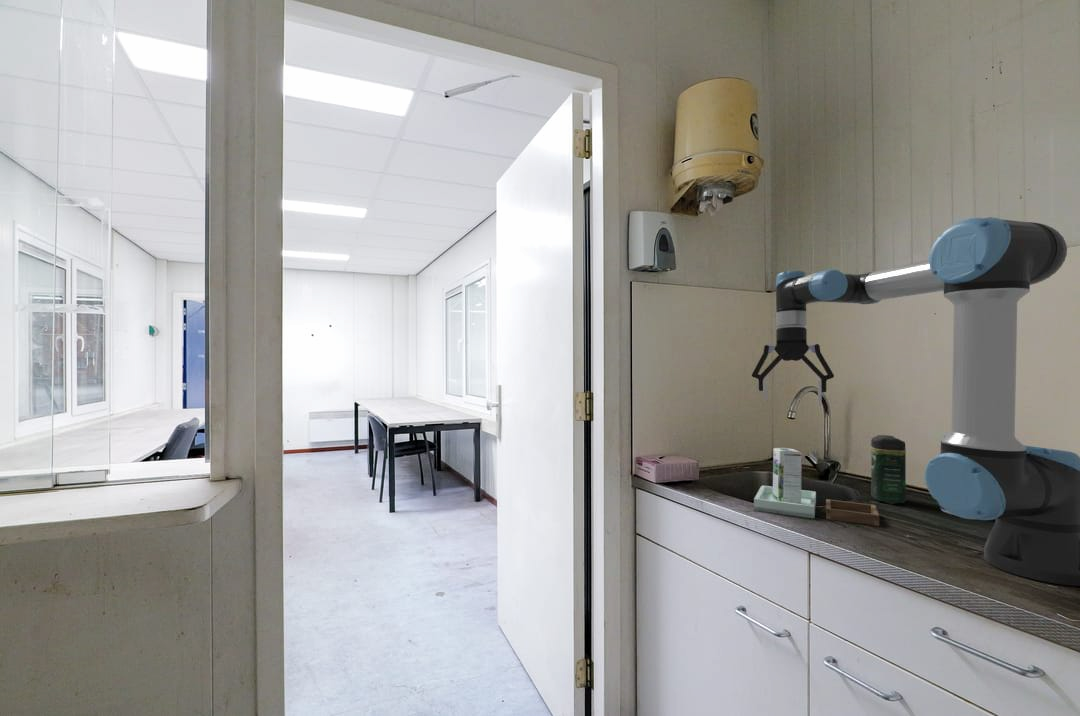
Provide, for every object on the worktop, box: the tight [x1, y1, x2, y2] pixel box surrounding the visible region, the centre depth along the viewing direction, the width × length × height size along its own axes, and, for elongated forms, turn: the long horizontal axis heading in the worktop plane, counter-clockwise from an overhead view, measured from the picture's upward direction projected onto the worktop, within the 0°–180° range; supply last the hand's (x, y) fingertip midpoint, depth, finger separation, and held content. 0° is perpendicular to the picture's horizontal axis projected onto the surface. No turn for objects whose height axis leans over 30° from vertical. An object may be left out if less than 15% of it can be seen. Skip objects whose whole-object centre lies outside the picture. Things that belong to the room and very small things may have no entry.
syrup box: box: [772, 447, 803, 504], centre depth 134 cm, size 6×6×14 cm
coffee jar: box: [870, 434, 907, 504], centre depth 142 cm, size 10×8×19 cm
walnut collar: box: [825, 498, 880, 527], centre depth 125 cm, size 11×11×2 cm
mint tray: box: [753, 484, 817, 520], centre depth 134 cm, size 18×14×3 cm
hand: (791, 403), depth 136 cm, fingers open, 13 cm apart
